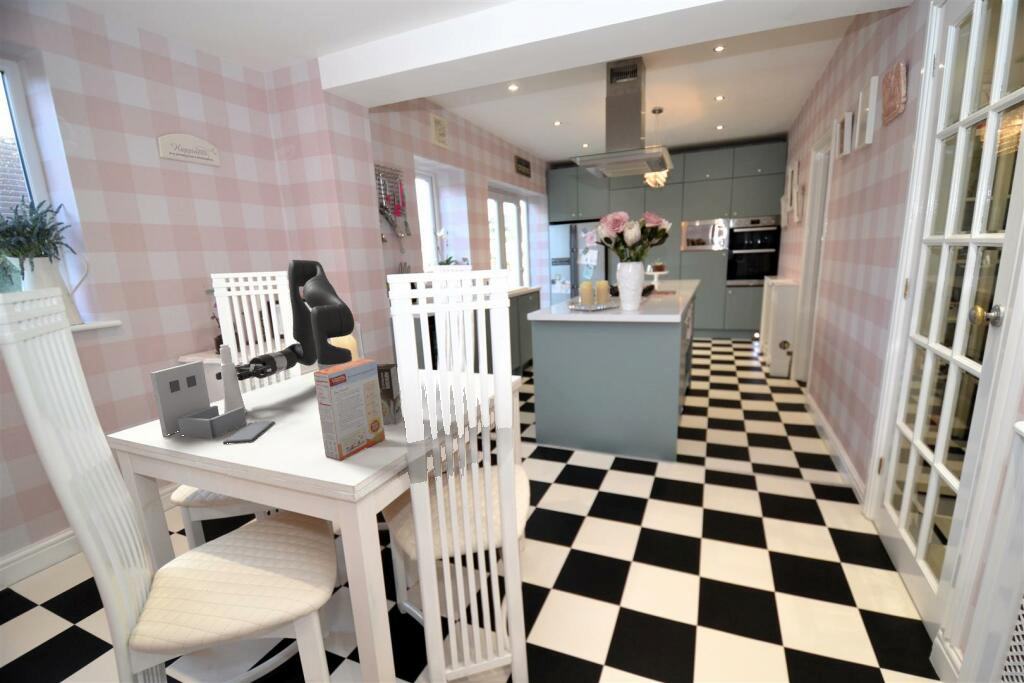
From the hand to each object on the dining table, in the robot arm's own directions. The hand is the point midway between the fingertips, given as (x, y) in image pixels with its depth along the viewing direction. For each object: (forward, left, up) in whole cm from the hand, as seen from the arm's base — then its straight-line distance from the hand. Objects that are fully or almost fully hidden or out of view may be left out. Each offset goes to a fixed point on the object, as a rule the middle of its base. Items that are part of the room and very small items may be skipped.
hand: (227, 377), depth 138 cm
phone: (-19, +12, -13) cm, 26 cm away
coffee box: (-52, -2, -12) cm, 53 cm away
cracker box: (-55, +16, -12) cm, 59 cm away
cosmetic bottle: (0, -1, -12) cm, 12 cm away
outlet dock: (-3, +11, -12) cm, 17 cm away
